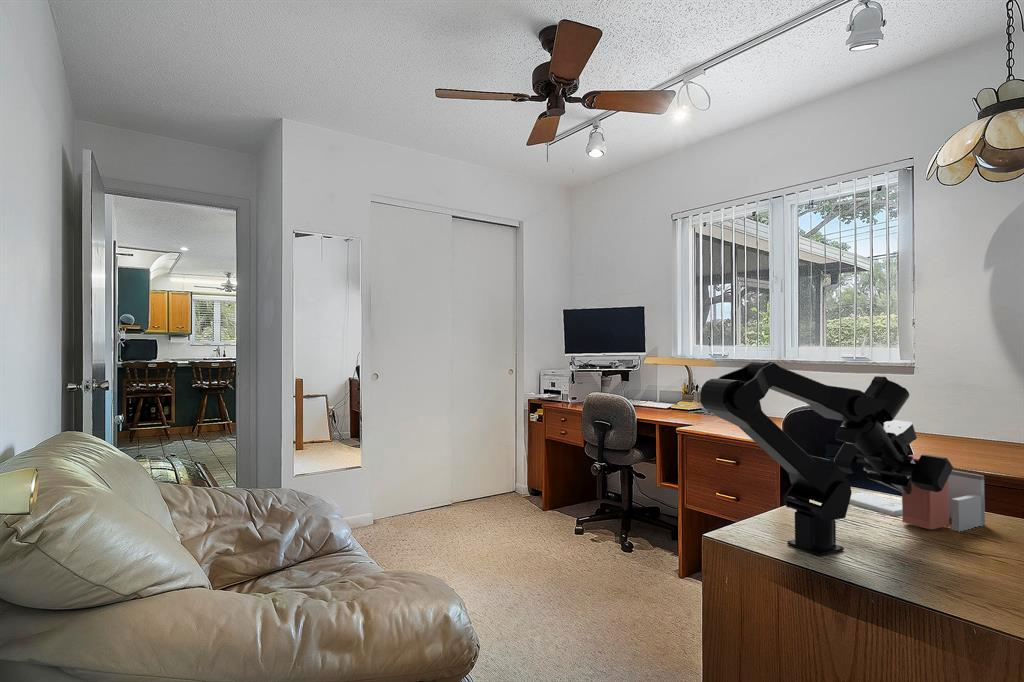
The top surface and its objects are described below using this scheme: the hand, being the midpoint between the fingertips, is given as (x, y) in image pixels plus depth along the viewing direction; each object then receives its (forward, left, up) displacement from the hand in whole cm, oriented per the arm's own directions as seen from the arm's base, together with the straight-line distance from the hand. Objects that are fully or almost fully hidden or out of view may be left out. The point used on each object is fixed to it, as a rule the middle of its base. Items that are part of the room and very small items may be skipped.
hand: (908, 492), depth 104 cm
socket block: (+12, 0, -7) cm, 14 cm away
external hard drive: (+11, +13, -8) cm, 19 cm away
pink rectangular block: (+5, 0, -7) cm, 9 cm away
